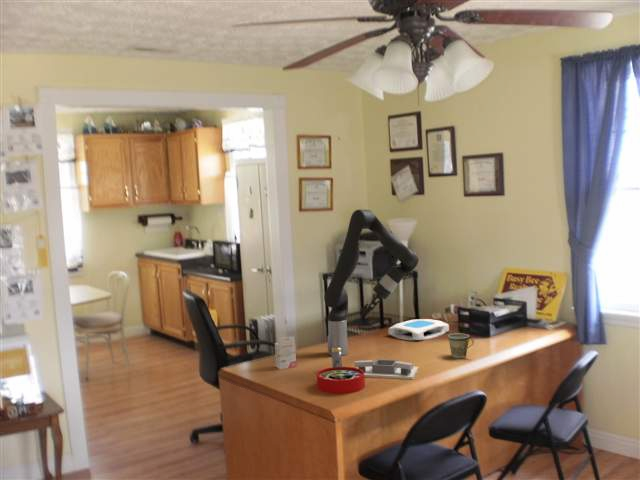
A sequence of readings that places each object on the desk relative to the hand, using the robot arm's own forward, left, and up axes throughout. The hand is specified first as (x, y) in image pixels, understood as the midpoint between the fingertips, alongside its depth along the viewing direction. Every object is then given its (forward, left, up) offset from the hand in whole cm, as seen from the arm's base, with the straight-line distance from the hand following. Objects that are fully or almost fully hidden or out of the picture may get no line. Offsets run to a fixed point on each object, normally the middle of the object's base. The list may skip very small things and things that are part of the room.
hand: (362, 313), depth 300 cm
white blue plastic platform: (+14, +70, -26) cm, 76 cm away
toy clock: (-3, -28, -26) cm, 38 cm away
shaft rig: (+11, -5, -25) cm, 28 cm away
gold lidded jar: (-12, -4, -25) cm, 28 cm away
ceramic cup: (+41, +27, -25) cm, 55 cm away
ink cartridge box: (-37, -4, -25) cm, 45 cm away
